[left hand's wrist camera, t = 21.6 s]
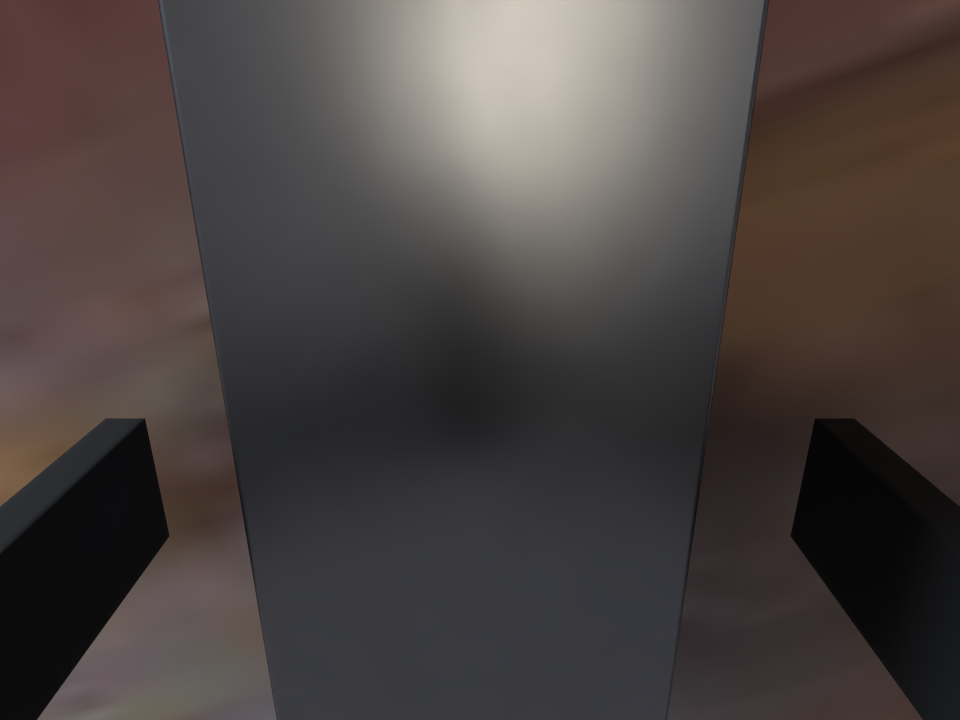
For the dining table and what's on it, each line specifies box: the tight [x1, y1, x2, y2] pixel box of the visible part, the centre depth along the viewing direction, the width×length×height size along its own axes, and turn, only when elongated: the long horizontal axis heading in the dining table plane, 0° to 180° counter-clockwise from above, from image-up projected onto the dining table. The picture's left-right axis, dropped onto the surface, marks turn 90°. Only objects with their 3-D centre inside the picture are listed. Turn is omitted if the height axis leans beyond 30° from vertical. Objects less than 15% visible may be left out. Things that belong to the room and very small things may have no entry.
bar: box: [158, 0, 769, 720], centre depth 10 cm, size 23×5×9 cm, turn 0°
